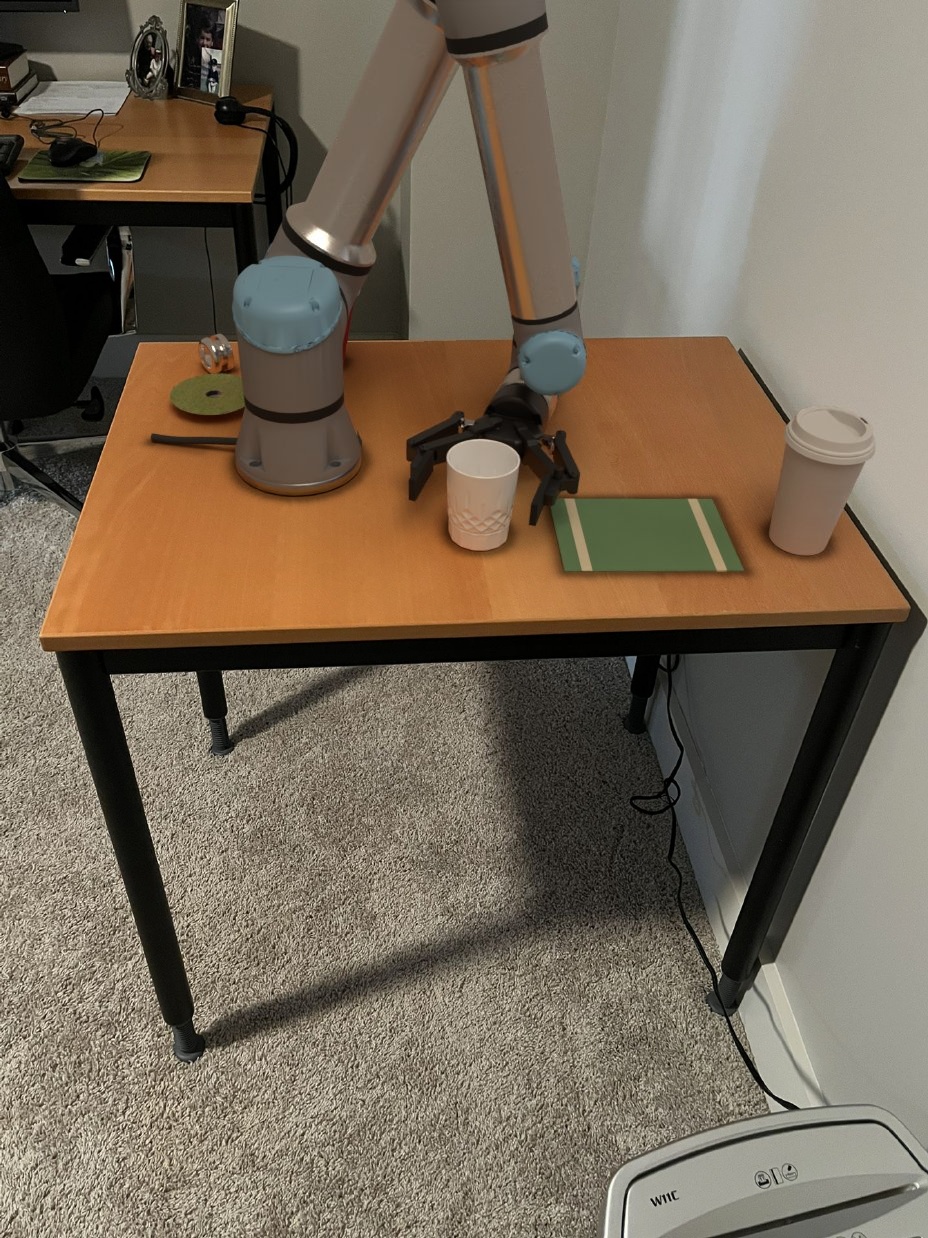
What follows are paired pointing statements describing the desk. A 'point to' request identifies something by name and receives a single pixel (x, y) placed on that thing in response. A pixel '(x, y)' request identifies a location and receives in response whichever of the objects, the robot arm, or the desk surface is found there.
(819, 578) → the desk surface
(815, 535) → the coffee cup
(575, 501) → the cloth
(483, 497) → the white cup
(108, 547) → the desk surface
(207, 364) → the metal grooved wheel
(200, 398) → the green sanding disc
